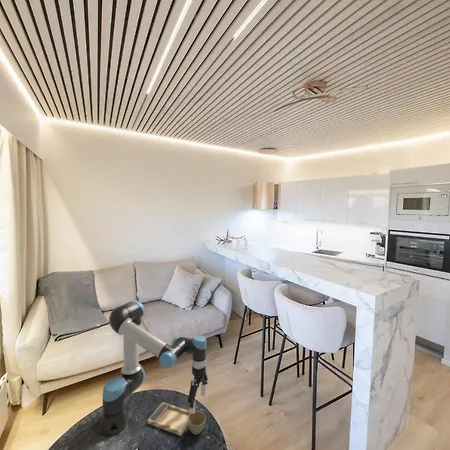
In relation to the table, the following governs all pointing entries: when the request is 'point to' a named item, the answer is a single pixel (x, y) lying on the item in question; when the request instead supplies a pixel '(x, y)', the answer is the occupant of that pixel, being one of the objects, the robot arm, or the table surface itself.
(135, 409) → the table surface
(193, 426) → the flower pot
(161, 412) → the wooden tray
